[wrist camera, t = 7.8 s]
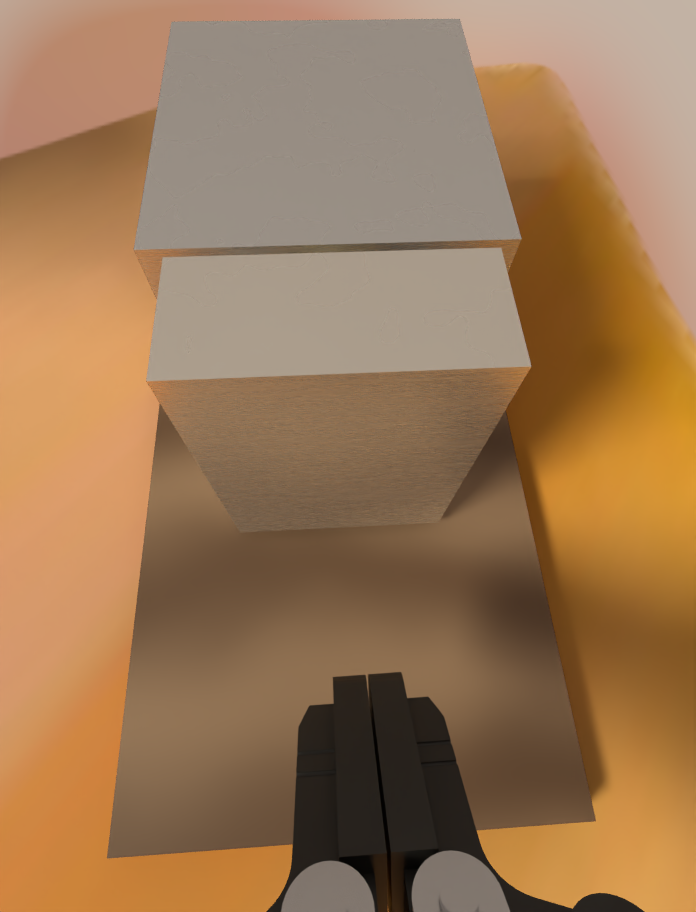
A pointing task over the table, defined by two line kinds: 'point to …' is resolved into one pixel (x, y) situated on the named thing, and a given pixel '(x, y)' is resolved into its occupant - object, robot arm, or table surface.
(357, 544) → the base plate
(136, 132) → the table surface
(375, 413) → the brushed metal slider block
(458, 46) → the bearing block
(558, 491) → the table surface
